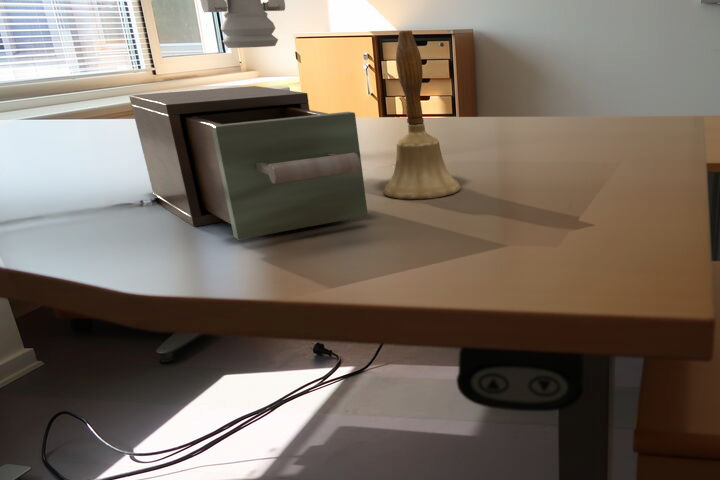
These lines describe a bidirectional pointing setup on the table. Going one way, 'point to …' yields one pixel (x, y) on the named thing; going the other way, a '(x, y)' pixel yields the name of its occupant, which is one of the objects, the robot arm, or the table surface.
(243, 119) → the drawer
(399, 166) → the hand bell
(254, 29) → the rook chess piece
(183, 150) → the cabinet
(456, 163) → the table surface
